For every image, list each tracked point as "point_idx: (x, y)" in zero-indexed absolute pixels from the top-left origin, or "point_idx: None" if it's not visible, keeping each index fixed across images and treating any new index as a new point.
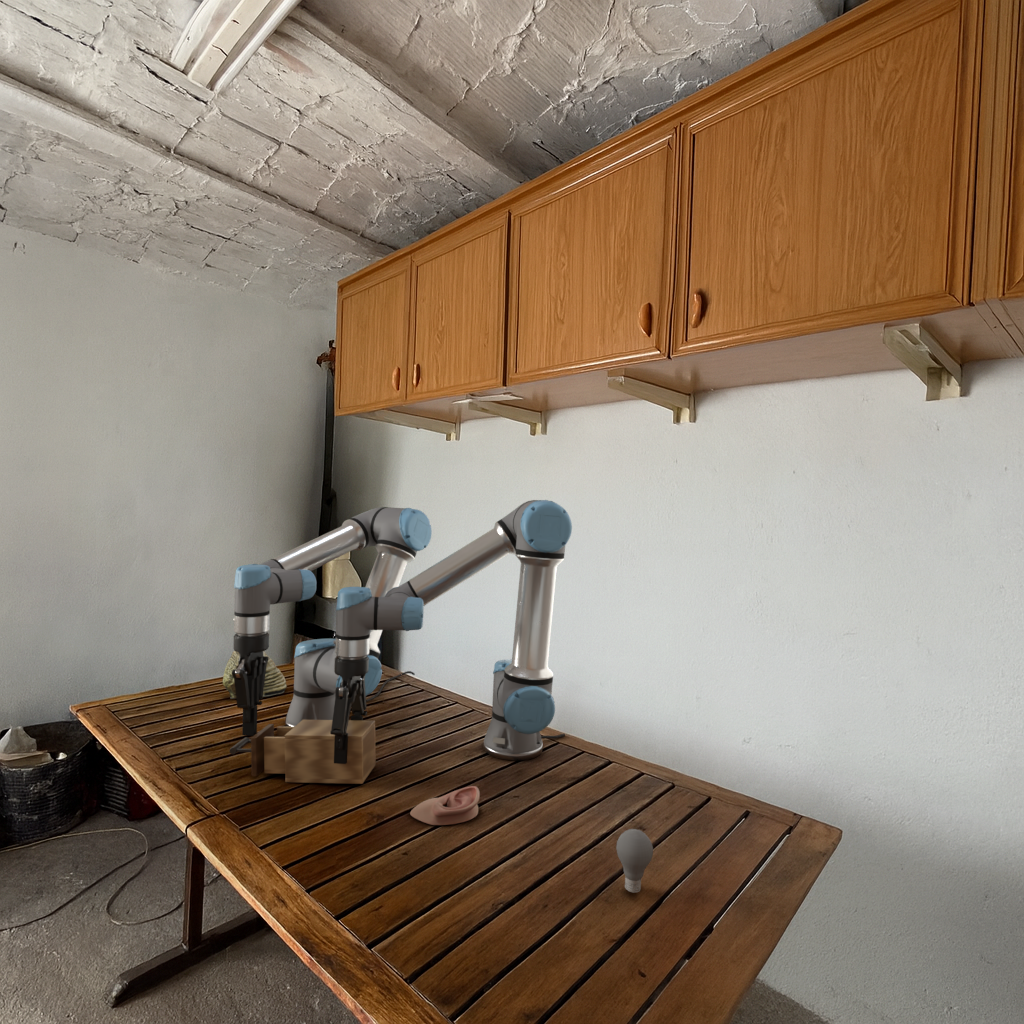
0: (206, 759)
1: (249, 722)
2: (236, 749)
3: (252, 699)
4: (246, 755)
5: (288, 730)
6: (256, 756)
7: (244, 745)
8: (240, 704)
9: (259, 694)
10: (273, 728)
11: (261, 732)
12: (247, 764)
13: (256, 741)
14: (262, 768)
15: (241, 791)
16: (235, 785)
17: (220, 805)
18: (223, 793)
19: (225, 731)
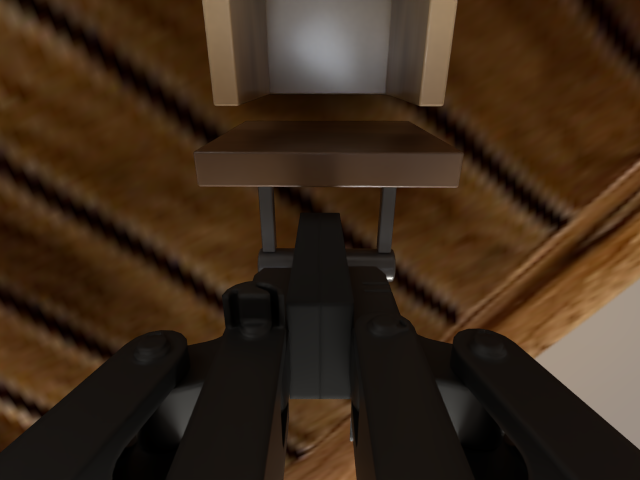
0: None
1: (373, 267)
2: (389, 254)
3: (406, 382)
4: (214, 255)
5: (236, 3)
6: (429, 133)
7: None
8: (503, 431)
9: (163, 389)
10: (208, 146)
11: (362, 162)
12: (287, 215)
13: (449, 147)
14: (358, 122)
15: (518, 126)
16: (467, 173)
17: (629, 147)
18: (532, 183)
19: (55, 404)
